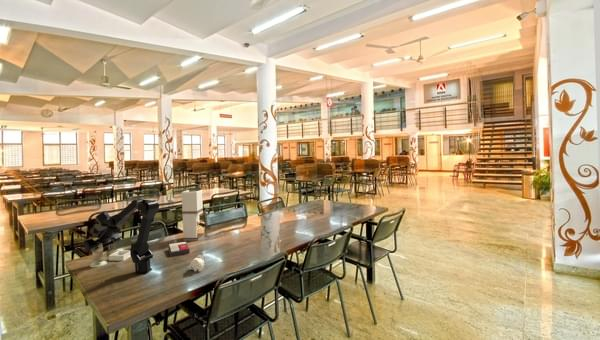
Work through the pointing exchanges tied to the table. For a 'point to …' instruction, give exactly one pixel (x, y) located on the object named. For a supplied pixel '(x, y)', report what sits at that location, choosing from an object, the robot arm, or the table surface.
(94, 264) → the coaster
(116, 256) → the pocket
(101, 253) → the peg
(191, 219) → the tall white pillar
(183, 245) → the calculator
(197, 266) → the white rounded lump
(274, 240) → the table surface
